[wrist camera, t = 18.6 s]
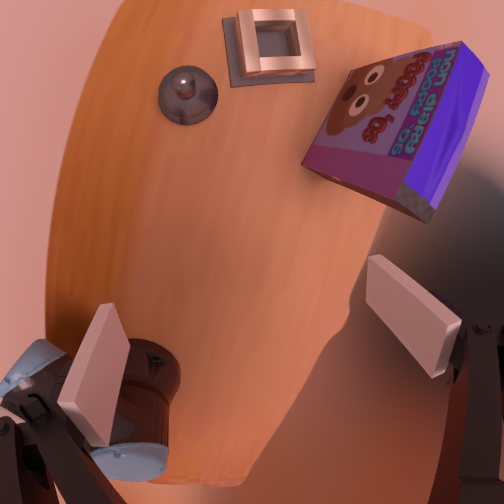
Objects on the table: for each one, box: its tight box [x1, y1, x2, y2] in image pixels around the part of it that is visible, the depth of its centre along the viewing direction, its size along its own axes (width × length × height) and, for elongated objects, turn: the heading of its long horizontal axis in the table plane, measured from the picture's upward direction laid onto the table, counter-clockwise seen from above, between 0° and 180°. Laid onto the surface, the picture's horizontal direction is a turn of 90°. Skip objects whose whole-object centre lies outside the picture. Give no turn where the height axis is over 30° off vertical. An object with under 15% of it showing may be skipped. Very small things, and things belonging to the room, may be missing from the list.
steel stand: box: [159, 66, 218, 125], centre depth 32 cm, size 8×8×13 cm
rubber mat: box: [222, 17, 315, 88], centre depth 36 cm, size 12×11×1 cm
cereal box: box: [301, 41, 489, 225], centre depth 31 cm, size 17×5×24 cm, turn 153°
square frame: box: [234, 9, 317, 79], centre depth 34 cm, size 9×9×5 cm
